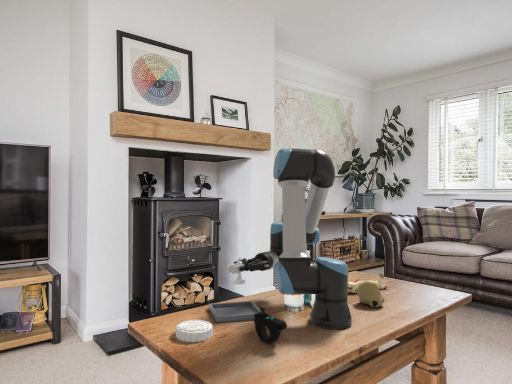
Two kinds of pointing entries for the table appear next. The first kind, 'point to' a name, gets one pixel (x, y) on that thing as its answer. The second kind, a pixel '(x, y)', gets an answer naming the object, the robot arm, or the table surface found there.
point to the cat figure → (355, 285)
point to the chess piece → (239, 275)
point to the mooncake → (194, 331)
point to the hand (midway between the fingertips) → (230, 269)
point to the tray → (233, 311)
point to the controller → (268, 326)
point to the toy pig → (369, 293)
